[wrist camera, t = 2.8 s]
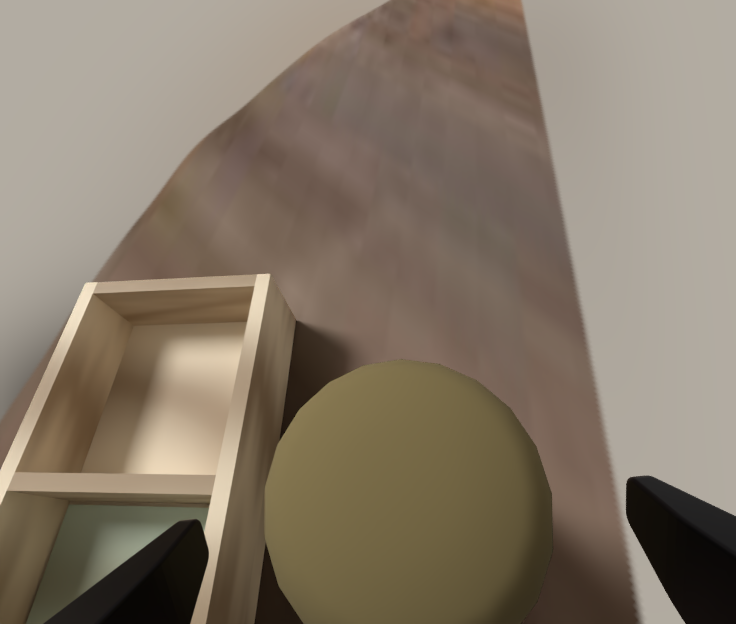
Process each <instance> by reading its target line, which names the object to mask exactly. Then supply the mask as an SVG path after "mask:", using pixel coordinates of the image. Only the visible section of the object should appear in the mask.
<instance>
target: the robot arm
mask: <svg viewBox="0 0 736 624" xmlns="http://www.w3.org/2000/svg"><path fill="white" fill-rule="evenodd" d="M626 515H627V519H628V521H629V524H630V526H631V528H632V529H633V532H634V533H635V535H636V537H637V539H638V541H639V543H640V544H641V546H642V548H643V550H644V552H645V554H646V556H647V557H648V559H649V561H650V563H651V565H652V567H653V568H654V570H655V572H656V574H657V576H658V578H659V580H660V582H661V583H662V585H663V587H664V589H665V591H666V593H667V594H668V596H669V598H670V600H671V601H672V603H673V605H674V606H675V608H676V609H677V611H678V612H679V614H680V616H681V617H682V619H683V620H684V622H685V623H686V624H736V516H734V515H732V514H730V513H728V512H726V511H724V510H721V509H719V508H717V507H715V506H713V505H711V504H709V503H707V502H705V501H702V500H700V499H698V498H696V497H694V496H692V495H690V494H688V493H686V492H684V491H682V490H680V489H678V488H675V487H673V486H671V485H669V484H667V483H665V482H663V481H661V480H658V479H656V478H654V477H652V476H636V477H630V478H629V479H628V480H627V484H626ZM208 559H209V549H208V545H207V541H206V538H205V535H204V531H203V528H202V524H201V522H200V521H199V520H198V519H187V520H180V521H178V522H176V523H175V524H174V525H172V526H171V527H170V528H169V529H167V530H166V531H165V532H163V533H162V534H161V535H159V536H158V537H157V538H155V539H154V540H153V541H151V542H150V543H149V544H147V545H146V546H145V547H143V548H142V549H141V550H139V551H138V552H137V553H135V554H134V555H133V556H132V557H130V558H129V559H128V560H126V561H125V562H124V563H122V564H121V565H120V566H118V567H117V568H116V569H114V570H113V571H112V572H110V573H109V574H108V575H106V576H105V577H104V578H102V579H101V580H100V581H99V582H97V583H96V584H95V585H93V586H92V587H91V588H89V589H88V590H87V591H85V592H84V593H83V594H81V595H80V596H79V597H77V598H76V599H75V600H73V601H72V602H71V603H69V604H68V605H67V606H65V607H64V608H63V609H62V610H60V611H59V612H58V613H56V614H55V615H54V616H52V617H51V618H50V619H48V620H47V621H46V622H44V623H43V624H190V623H191V620H192V616H193V613H194V609H195V606H196V602H197V599H198V595H199V592H200V588H201V585H202V581H203V578H204V574H205V571H206V567H207V564H208Z"/></svg>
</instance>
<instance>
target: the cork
mask: <svg viewBox="0 0 736 624" xmlns="http://www.w3.org/2000/svg"><path fill="white" fill-rule="evenodd" d="M264 537H265V541H266V544H267V548H268V551H269V555H270V558H271V561H272V565H273V568H274V572H275V575H276V579H277V582H278V586H279V587H280V589H281V590H282V592H283V593H284V595H285V596H286V598H287V599H288V601H289V602H290V604H291V605H292V607H293V609H294V610H295V612H296V613H297V615H298V616H299V618H300V619H301V621H302V622H303V624H521V623H522V622H523V620H524V619H525V618H526V616H527V615H528V614H529V612H530V611H531V610H532V608H533V607H534V606H535V604H536V603H537V601H538V598H539V595H540V592H541V588H542V585H543V582H544V578H545V575H546V572H547V568H548V565H549V562H550V558H551V555H552V552H553V526H552V493H551V490H550V487H549V484H548V481H547V478H546V474H545V471H544V468H543V465H542V462H541V459H540V456H539V453H538V450H537V447H536V445H535V444H534V442H533V441H532V439H531V438H530V436H529V435H528V433H527V432H526V430H525V429H524V428H523V426H522V425H521V423H520V422H519V420H518V419H517V417H516V416H515V414H514V413H513V411H512V410H511V409H510V407H508V406H507V405H506V404H505V403H504V402H502V401H501V400H500V399H499V398H498V397H496V396H495V395H494V394H493V393H492V392H490V391H489V390H488V389H487V388H486V387H484V386H483V385H482V384H481V383H479V382H478V381H477V380H475V379H473V378H470V377H468V376H466V375H464V374H461V373H459V372H457V371H454V370H452V369H450V368H447V367H445V366H443V365H441V364H435V363H427V362H419V361H411V360H403V359H400V360H394V361H388V362H382V363H376V364H370V365H364V366H362V367H360V368H357V369H355V370H353V371H351V372H349V373H347V374H345V375H343V376H341V377H339V378H337V379H335V380H333V381H331V382H329V383H328V384H327V385H326V386H324V387H323V388H322V389H321V390H320V391H319V392H318V393H317V394H316V395H315V396H313V397H312V398H311V399H310V400H309V401H308V402H307V403H306V404H305V405H303V406H302V407H301V408H300V409H299V411H298V412H297V414H296V416H295V417H294V419H293V420H292V422H291V424H290V425H289V427H288V428H287V430H286V432H285V433H284V435H283V436H282V438H281V440H280V441H279V443H278V444H277V447H276V451H275V454H274V458H273V461H272V465H271V468H270V472H269V475H268V479H267V482H266V485H265V515H264Z"/></svg>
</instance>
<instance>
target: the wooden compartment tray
mask: <svg viewBox="0 0 736 624" xmlns="http://www.w3.org/2000/svg"><path fill="white" fill-rule="evenodd" d="M295 324H296V319H295V317H294V315H293V313H292V311H291V310H290V308H289V306H288V304H287V302H286V301H285V299H284V297H283V295H282V294H281V292H280V290H279V288H278V286H277V285H276V283H275V281H274V279H273V277H272V276H271V274H256V275H236V276H216V277H195V278H175V279H155V280H135V281H115V282H95V283H85V285H84V287H83V290H82V292H81V294H80V296H79V298H78V301H77V303H76V305H75V307H74V309H73V312H72V314H71V316H70V318H69V320H68V323H67V325H66V327H65V329H64V331H63V334H62V336H61V338H60V340H59V342H58V345H57V347H56V349H55V351H54V353H53V356H52V358H51V360H50V362H49V364H48V367H47V369H46V371H45V373H44V376H43V378H42V380H41V382H40V384H39V387H38V389H37V391H36V393H35V395H34V398H33V400H32V402H31V404H30V406H29V409H28V411H27V413H26V415H25V417H24V420H23V422H22V424H21V426H20V428H19V431H18V433H17V435H16V437H15V439H14V442H13V444H12V446H11V448H10V450H9V453H8V455H7V457H6V459H5V461H4V464H3V466H2V468H1V470H0V624H43V623H44V622H46V621H47V620H48V619H50V618H51V617H52V616H54V615H55V614H56V613H58V612H59V611H60V610H62V609H63V608H64V607H65V606H67V605H68V604H69V603H71V602H72V601H73V600H75V599H76V598H77V597H79V596H80V595H81V594H83V593H84V592H85V591H87V590H88V589H89V588H91V587H92V586H93V585H95V584H96V583H97V582H99V581H100V580H101V579H102V578H104V577H105V576H106V575H108V574H109V573H110V572H112V571H113V570H114V569H116V568H117V567H118V566H120V565H121V564H122V563H124V562H125V561H126V560H128V559H129V558H130V557H132V556H133V555H134V554H135V553H137V552H138V551H139V550H141V549H142V548H143V547H145V546H146V545H147V544H149V543H150V542H151V541H153V540H154V539H155V538H157V537H158V536H159V535H161V534H162V533H163V532H165V531H166V530H167V529H169V528H170V527H171V526H172V525H174V524H175V523H176V522H178V521H180V520H187V519H198V520H199V521H200V522H201V524H202V528H203V531H204V535H205V538H206V541H207V545H208V549H209V559H208V564H207V567H206V571H205V574H204V578H203V581H202V585H201V588H200V592H199V595H198V599H197V602H196V606H195V609H194V613H193V616H192V620H191V623H190V624H254V623H255V616H256V609H257V601H258V594H259V587H260V579H261V572H262V565H263V558H264V550H265V543H266V541H265V537H264V515H265V485H266V482H267V479H268V475H269V472H270V468H271V465H272V461H273V458H274V454H275V451H276V447H277V444H278V443H279V441H280V434H281V426H282V419H283V412H284V404H285V397H286V390H287V383H288V375H289V368H290V361H291V353H292V346H293V339H294V331H295Z"/></svg>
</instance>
